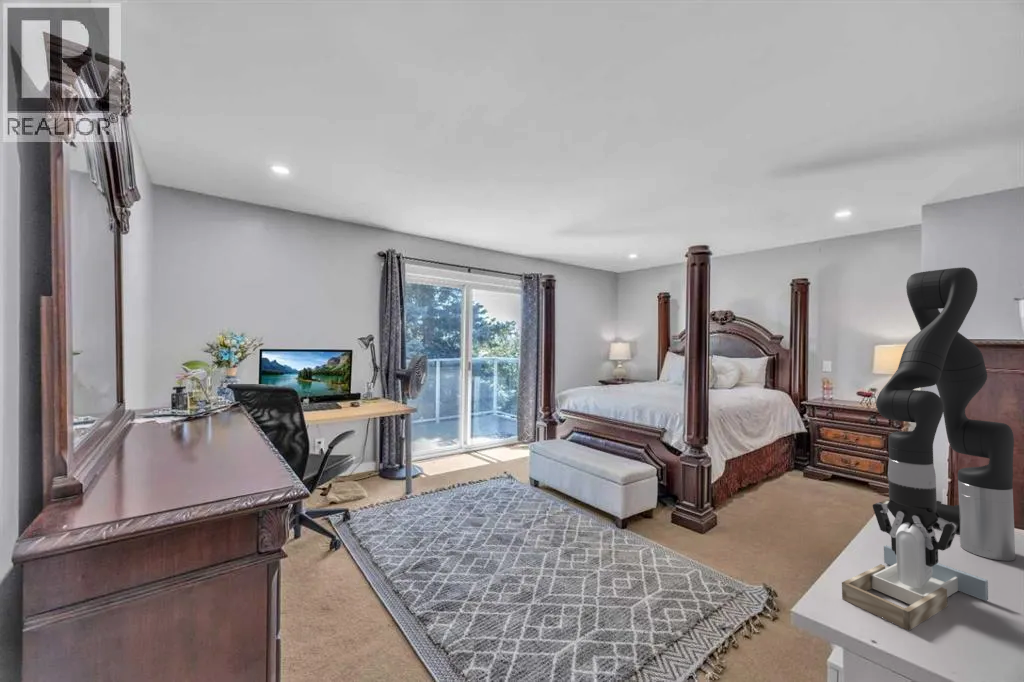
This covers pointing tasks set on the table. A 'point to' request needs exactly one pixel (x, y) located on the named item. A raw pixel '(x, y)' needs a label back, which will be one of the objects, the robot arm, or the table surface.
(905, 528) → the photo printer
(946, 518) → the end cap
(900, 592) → the tray
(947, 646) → the table surface
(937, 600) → the dock housing
